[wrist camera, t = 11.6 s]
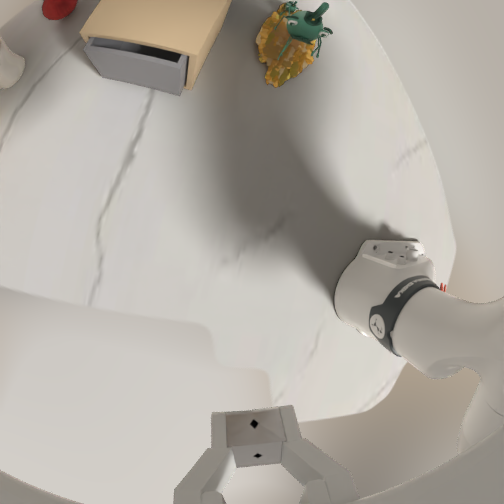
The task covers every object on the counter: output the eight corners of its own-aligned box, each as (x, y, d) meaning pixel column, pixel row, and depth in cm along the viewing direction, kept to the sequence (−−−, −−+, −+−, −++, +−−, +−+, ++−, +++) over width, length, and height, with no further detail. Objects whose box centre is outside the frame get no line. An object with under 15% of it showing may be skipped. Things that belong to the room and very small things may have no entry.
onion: (71, -3, 24) (59, -27, 16) (88, 8, 26) (76, -18, 18) (45, 20, 24) (28, -1, 16) (60, 32, 26) (44, 10, 18)
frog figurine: (324, 19, 35) (371, -14, 22) (295, 101, 40) (343, 84, 27) (273, -4, 32) (307, -48, 19) (238, 79, 37) (264, 47, 24)
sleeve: (191, 90, 34) (197, 55, 23) (102, 69, 30) (79, 32, 19) (221, 27, 32) (238, -17, 21) (138, 7, 28) (131, -38, 17)
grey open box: (179, 96, 33) (180, 69, 24) (102, 77, 29) (83, 49, 20) (231, -4, 30) (245, -40, 21) (162, -20, 27) (163, -57, 17)
